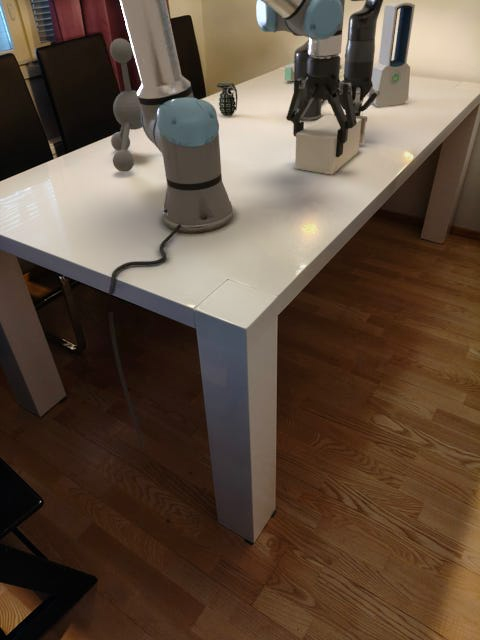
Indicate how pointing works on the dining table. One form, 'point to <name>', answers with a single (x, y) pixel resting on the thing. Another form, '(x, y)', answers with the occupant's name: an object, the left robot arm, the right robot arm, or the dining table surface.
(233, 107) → the grenade
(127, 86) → the molecular model
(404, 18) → the electronic device
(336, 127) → the cabinet
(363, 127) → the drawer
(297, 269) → the dining table surface
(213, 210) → the left robot arm
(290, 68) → the decorative block
